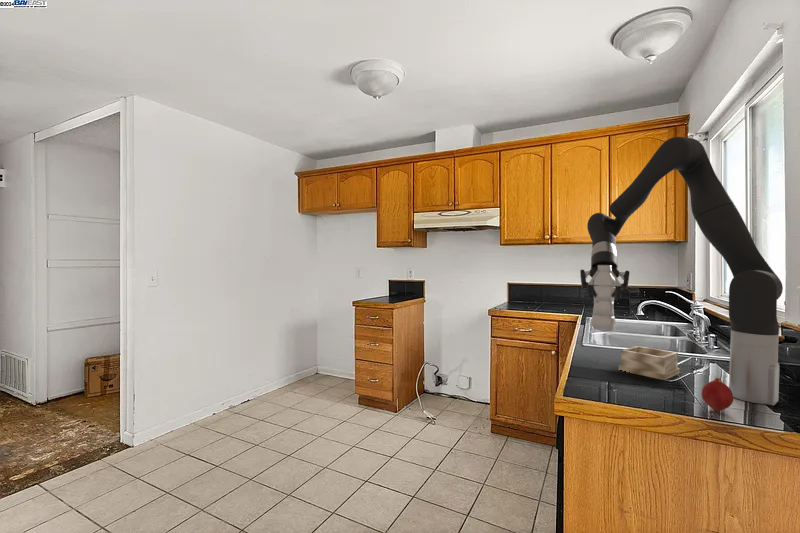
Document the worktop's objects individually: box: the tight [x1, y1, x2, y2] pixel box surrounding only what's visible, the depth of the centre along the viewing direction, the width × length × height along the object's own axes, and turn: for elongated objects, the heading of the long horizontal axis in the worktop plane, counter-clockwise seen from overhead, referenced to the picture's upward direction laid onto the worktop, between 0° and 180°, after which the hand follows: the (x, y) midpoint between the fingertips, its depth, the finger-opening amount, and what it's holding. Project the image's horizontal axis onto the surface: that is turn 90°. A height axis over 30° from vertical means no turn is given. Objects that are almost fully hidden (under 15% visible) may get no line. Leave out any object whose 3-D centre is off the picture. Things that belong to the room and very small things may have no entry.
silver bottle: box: [590, 265, 616, 333], centre depth 120 cm, size 6×7×20 cm
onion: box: [701, 377, 734, 412], centre depth 93 cm, size 6×6×8 cm
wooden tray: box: [618, 345, 681, 381], centre depth 126 cm, size 13×13×6 cm
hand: (604, 297), depth 118 cm, fingers closed on silver bottle, 6 cm apart
